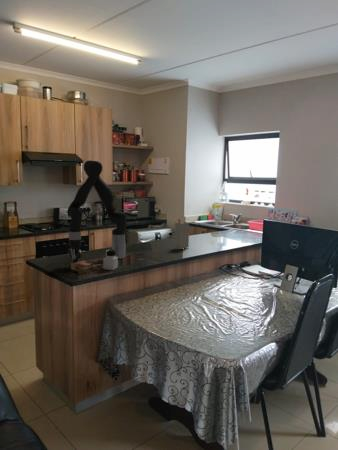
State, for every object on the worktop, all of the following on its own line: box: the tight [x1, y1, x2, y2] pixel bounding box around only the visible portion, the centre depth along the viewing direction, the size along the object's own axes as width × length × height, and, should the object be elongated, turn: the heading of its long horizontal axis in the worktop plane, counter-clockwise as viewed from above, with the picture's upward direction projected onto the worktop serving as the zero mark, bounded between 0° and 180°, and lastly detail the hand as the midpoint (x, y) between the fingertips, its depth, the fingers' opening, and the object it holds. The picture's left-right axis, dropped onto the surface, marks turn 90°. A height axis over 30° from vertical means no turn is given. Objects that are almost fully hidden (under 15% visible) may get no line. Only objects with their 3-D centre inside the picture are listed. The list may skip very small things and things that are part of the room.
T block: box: [70, 259, 91, 271], centre depth 225 cm, size 10×11×4 cm
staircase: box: [172, 219, 190, 250], centre depth 292 cm, size 8×12×26 cm
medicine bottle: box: [102, 249, 119, 271], centre depth 228 cm, size 7×7×12 cm
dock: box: [75, 262, 103, 275], centre depth 223 cm, size 17×8×3 cm, turn 143°
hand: (75, 264), depth 230 cm, fingers closed
